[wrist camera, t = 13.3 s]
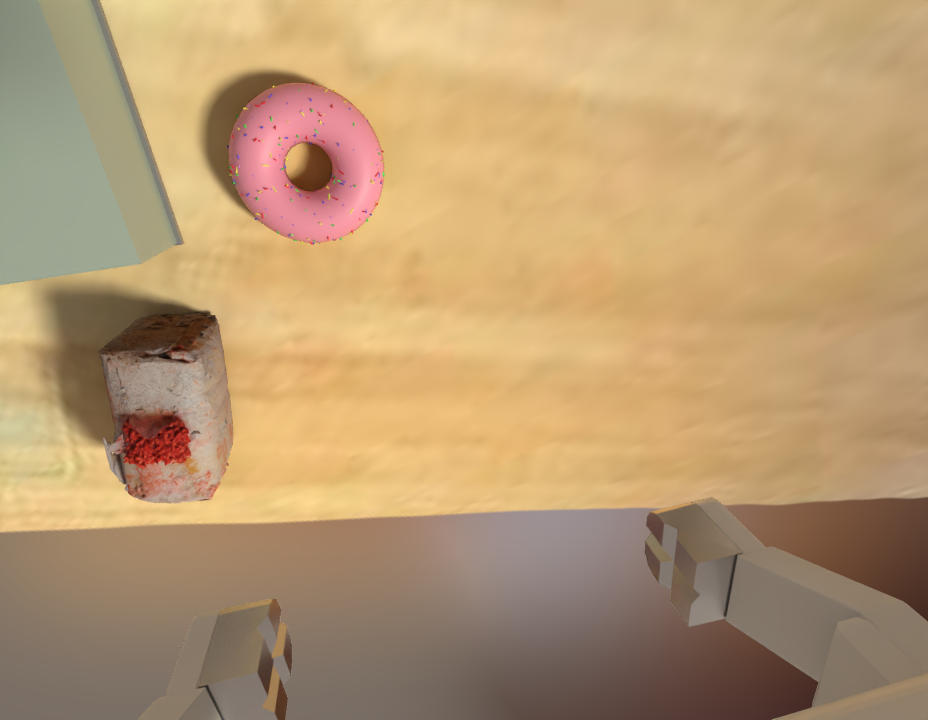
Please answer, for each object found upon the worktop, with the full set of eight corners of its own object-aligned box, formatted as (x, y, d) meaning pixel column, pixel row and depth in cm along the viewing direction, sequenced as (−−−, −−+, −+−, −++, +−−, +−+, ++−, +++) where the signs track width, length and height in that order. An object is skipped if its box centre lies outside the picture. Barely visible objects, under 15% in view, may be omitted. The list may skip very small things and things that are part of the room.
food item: (246, 451, 47) (220, 523, 38) (151, 456, 45) (101, 533, 36) (228, 310, 41) (193, 356, 32) (120, 311, 40) (52, 358, 31)
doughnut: (322, 52, 36) (318, 42, 32) (410, 188, 40) (416, 192, 37) (201, 142, 36) (183, 141, 33) (301, 265, 41) (296, 277, 37)
